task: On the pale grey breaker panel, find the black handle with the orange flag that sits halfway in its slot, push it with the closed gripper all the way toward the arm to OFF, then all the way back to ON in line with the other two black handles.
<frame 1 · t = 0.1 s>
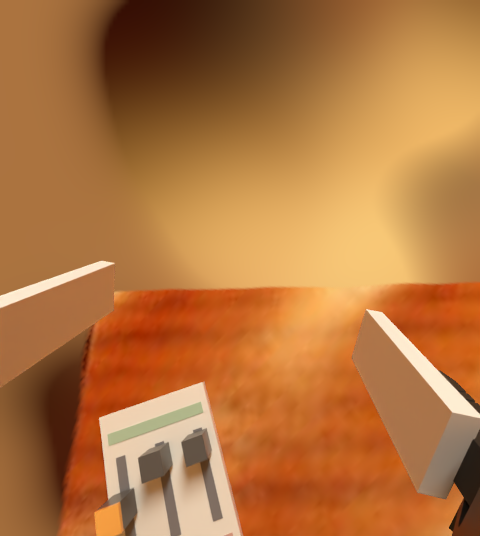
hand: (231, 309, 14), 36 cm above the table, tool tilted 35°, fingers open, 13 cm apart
handle tripped: (117, 512, 35), point 5 cm above the table, slide at 0.0 cm
panel: (171, 481, 41), on the table
handle middle: (156, 461, 38), point 5 cm above the table, slide at 4.0 cm
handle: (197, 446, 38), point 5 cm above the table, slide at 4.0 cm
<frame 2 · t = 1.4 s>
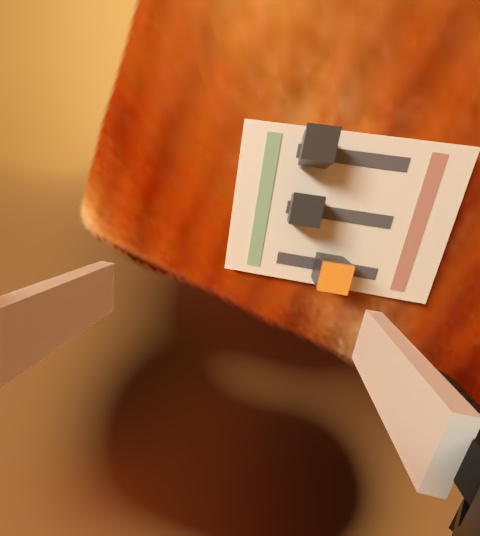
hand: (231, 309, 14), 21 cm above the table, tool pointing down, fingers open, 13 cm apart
handle tripped: (330, 272, 29), point 5 cm above the table, slide at 0.0 cm
panel: (334, 213, 32), on the table
handle middle: (304, 209, 28), point 5 cm above the table, slide at 4.0 cm
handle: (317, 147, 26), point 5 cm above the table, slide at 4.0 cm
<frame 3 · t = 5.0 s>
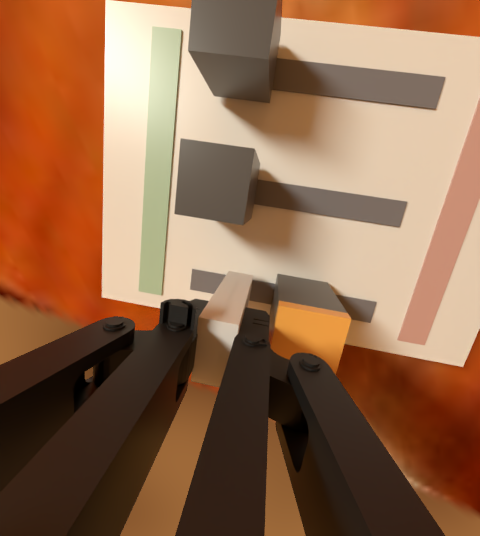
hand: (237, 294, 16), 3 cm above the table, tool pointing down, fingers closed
handle tripped: (301, 318, 14), point 5 cm above the table, slide at -1.1 cm, touching gripper
panel: (296, 198, 17), on the table
handle middle: (222, 185, 13), point 5 cm above the table, slide at 4.0 cm
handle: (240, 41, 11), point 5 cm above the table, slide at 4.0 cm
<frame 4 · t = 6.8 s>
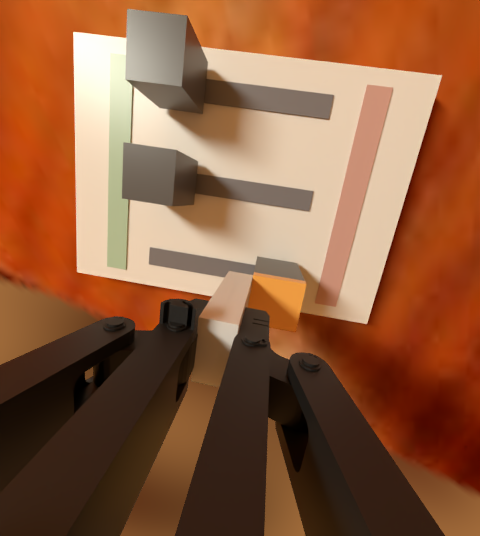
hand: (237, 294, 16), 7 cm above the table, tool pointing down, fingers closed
handle tripped: (274, 289, 18), point 5 cm above the table, slide at -4.2 cm
panel: (234, 189, 21), on the table
handle middle: (163, 178, 17), point 5 cm above the table, slide at 4.0 cm
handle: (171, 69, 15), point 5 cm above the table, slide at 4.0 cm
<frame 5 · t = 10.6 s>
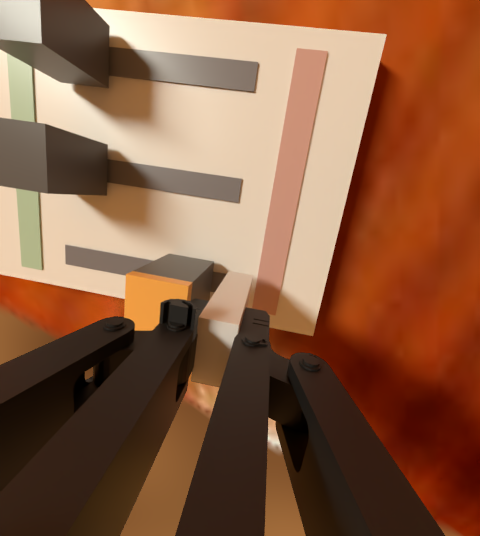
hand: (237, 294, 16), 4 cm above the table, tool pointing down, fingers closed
handle tripped: (174, 292, 15), point 5 cm above the table, slide at -3.3 cm, touching gripper
panel: (162, 179, 19), on the table
handle middle: (55, 162, 14), point 5 cm above the table, slide at 4.0 cm
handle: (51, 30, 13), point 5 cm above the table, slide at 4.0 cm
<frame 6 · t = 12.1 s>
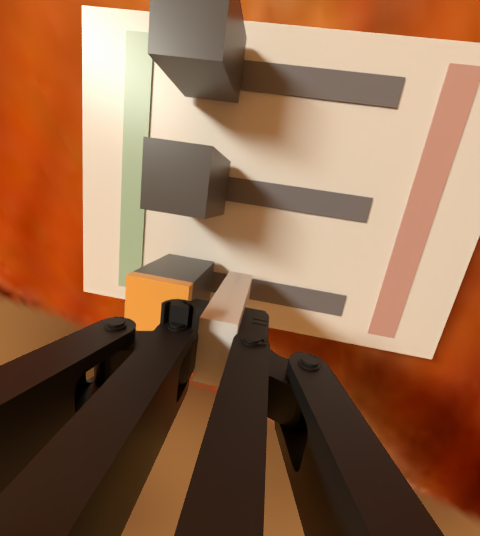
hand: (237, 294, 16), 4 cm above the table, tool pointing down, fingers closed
handle tripped: (175, 292, 15), point 5 cm above the table, slide at 4.2 cm, touching gripper
panel: (270, 195, 18), on the table
handle middle: (190, 182, 14), point 5 cm above the table, slide at 4.0 cm
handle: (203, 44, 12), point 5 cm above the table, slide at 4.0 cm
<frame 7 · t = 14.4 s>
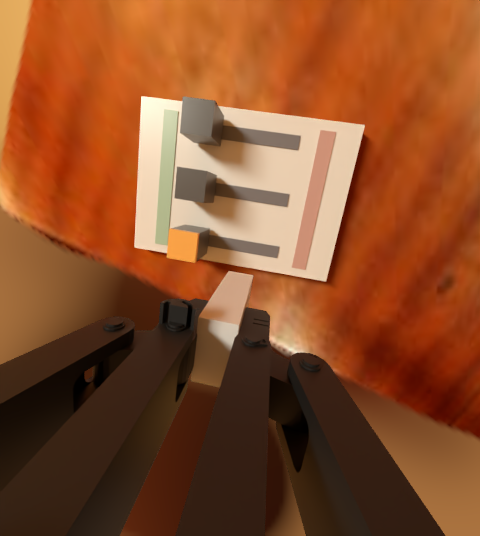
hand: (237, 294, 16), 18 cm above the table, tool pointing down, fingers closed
handle tripped: (189, 242, 29), point 5 cm above the table, slide at 4.1 cm
panel: (239, 193, 32), on the table
handle middle: (196, 186, 28), point 5 cm above the table, slide at 4.0 cm
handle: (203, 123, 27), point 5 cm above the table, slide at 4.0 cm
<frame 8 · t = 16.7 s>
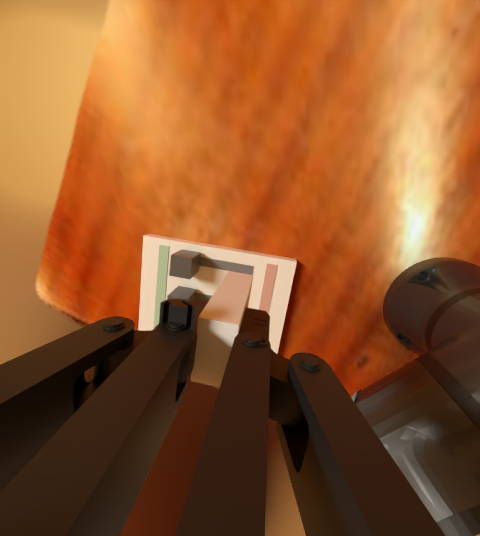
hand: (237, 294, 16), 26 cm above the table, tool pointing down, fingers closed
panel: (214, 295, 45), on the table
handle middle: (181, 301, 41), point 5 cm above the table, slide at 4.0 cm
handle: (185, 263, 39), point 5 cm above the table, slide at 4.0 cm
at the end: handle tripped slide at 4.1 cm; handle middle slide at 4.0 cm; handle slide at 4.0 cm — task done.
